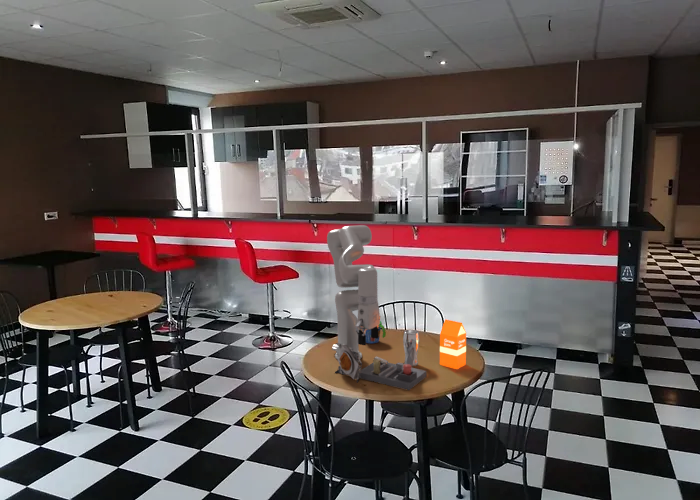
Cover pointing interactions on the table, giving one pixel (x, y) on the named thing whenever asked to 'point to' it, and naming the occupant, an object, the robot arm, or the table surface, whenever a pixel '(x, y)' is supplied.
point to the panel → (393, 376)
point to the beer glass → (411, 346)
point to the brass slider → (376, 366)
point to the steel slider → (399, 366)
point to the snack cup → (375, 340)
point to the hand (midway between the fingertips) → (368, 341)
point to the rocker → (381, 360)
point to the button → (407, 369)
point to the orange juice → (453, 344)
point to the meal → (348, 361)
